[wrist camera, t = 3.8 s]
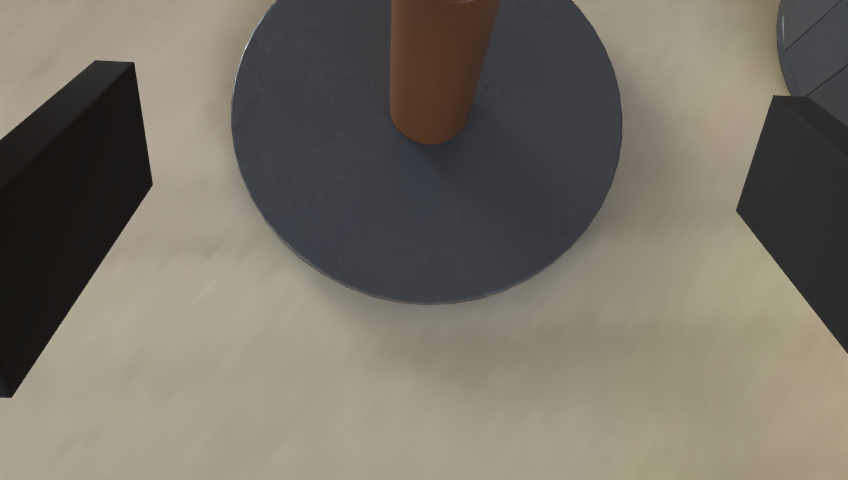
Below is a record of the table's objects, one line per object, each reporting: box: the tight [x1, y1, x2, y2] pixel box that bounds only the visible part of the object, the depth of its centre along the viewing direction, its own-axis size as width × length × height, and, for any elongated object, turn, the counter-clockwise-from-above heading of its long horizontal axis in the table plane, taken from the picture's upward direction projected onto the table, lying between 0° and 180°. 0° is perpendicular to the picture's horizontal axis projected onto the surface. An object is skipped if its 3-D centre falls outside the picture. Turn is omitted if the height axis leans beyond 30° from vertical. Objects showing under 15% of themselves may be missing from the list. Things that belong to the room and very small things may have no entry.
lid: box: [231, 0, 622, 305], centre depth 22 cm, size 14×14×10 cm
